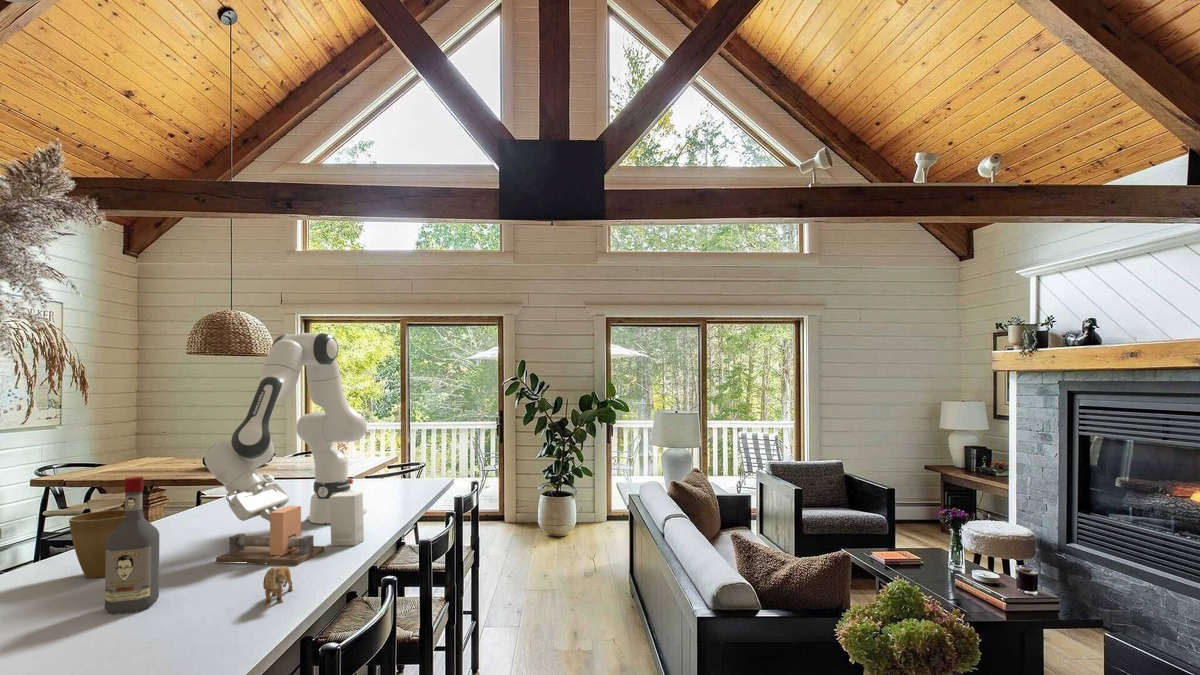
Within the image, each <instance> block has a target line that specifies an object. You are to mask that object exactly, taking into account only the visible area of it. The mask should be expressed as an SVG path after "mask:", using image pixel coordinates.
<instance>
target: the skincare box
mask: <svg viewBox="0 0 1200 675" xmlns="http://www.w3.org/2000/svg"><path fill="white" fill-rule="evenodd" d="M363 495H364V494H363V492H362V491H358V492H357V491H355V492H354V491H353V492H345V493H337V494H335V495H333V496H331V497H330V523H329V524H330V546H331V547H333V546H337V547H339V546H340V547H341V546H343V547H344V546H346V547H347V546H349V547H350V546H353V547H355V546H358V545H359V544H360V543H362V542H364V540H365V533H364V532H365V531H364V525H365V524H364V514H363V508H364V501H363V500H364V498H363V497H364V496H363Z"/></svg>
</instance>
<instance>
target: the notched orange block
mask: <svg viewBox="0 0 1200 675" xmlns="http://www.w3.org/2000/svg"><path fill="white" fill-rule="evenodd" d="M269 536H270V555H285V554H287V553H289V552H291V551H293V550H295V549H297V548H298V547H288V537H302V506H301V505H287V506H283V507H281V508H278V510H276V511H273V512H270V522H269Z"/></svg>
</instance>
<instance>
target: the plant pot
mask: <svg viewBox="0 0 1200 675" xmlns="http://www.w3.org/2000/svg"><path fill="white" fill-rule="evenodd" d="M124 515H125V509H112V510H111V509H110V510H101V511H93V512H92V511H91V512H87V513H82V514H77V515H74V516H71V517H70V518H69V519H68V522H69V527H70V528H69V530H70V535H71V539H72V544H73V549H74V552H75V555H76V558H77V560H78V562H79V566H80V568H81V571H82V572H83V574H84V577H86V578H90V579H91V578H102V577H104V578H105V565H106V541H107V539H108V537H109V536H110V535H111V534H112V532H113V531H114V530H115V529H116V528H117V527H118V526H119V525H120V524H121V523H122V521H123V517H124Z"/></svg>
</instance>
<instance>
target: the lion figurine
mask: <svg viewBox="0 0 1200 675" xmlns="http://www.w3.org/2000/svg"><path fill="white" fill-rule="evenodd" d="M291 574H292V573H291V571H290V568H289V567H287V566H286V565H281V566H274V567H271V568H269V569H268V570H267V571H266V573H265V575H264V578H263V582H262V584H263V585H262V586H263V589H264V594H265V601H264V605H265V604H266V605H265V606H268V604H269V605H271V602H272V600H271V596H272V597H273V596H276V603H277V604H280V603H283V602H284V600H283V599H282V595H283V588H285V587H286V586H287V584H288V588H287V591H288V592H292V591H293V590H294V589H293V581H292V579H291V577H292V576H291Z"/></svg>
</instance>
